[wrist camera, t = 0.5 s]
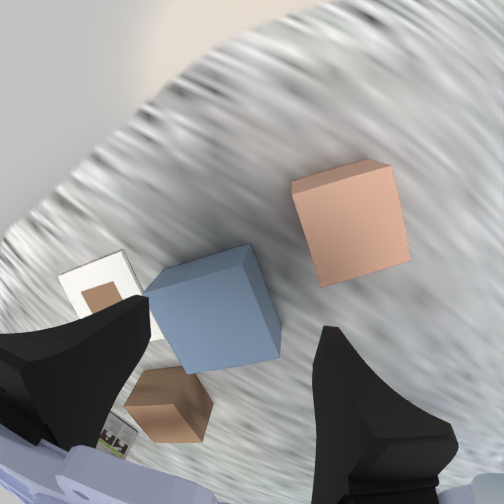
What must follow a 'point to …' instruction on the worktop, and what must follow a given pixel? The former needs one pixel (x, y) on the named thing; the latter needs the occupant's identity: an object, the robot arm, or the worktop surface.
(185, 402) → the walnut block
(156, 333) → the card
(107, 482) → the robot arm
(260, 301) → the blue block
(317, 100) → the worktop surface
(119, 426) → the coffee box
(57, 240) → the worktop surface
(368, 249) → the peach block
